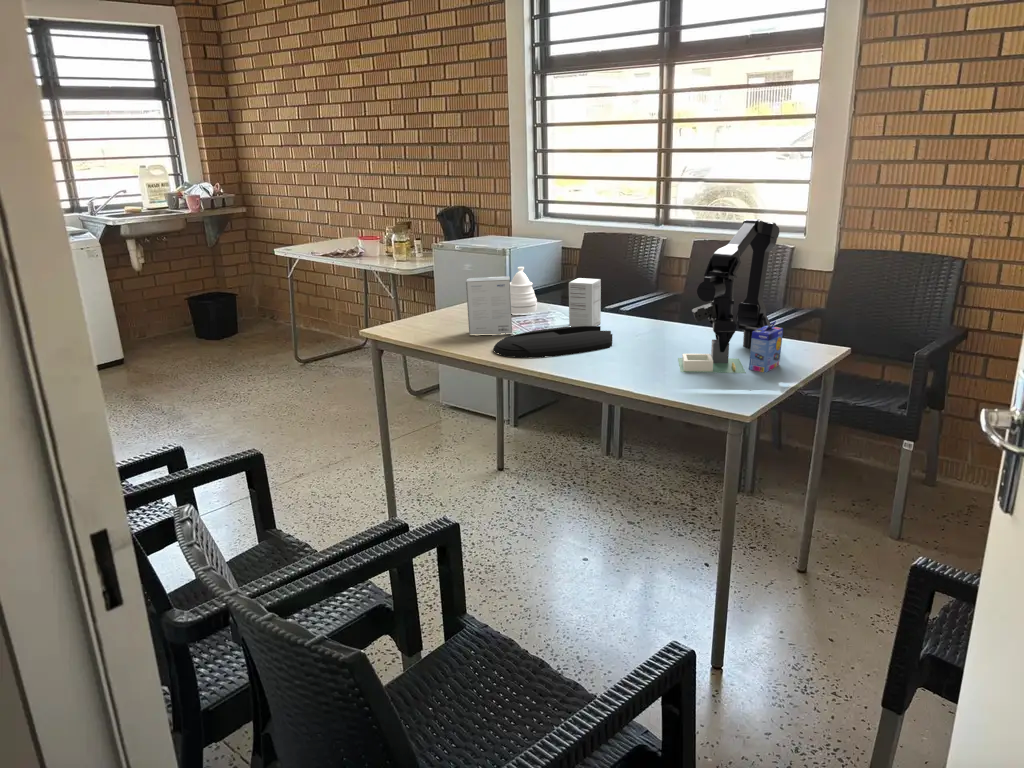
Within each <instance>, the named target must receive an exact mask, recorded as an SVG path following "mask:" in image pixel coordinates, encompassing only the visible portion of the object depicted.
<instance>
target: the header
mask: <svg viewBox="0 0 1024 768" xmlns="http://www.w3.org/2000/svg"><path fill="white" fill-rule="evenodd" d="M681 358H682V364H683V369H684V371H713V359H712V357H711V353H682V357H681Z"/></svg>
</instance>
